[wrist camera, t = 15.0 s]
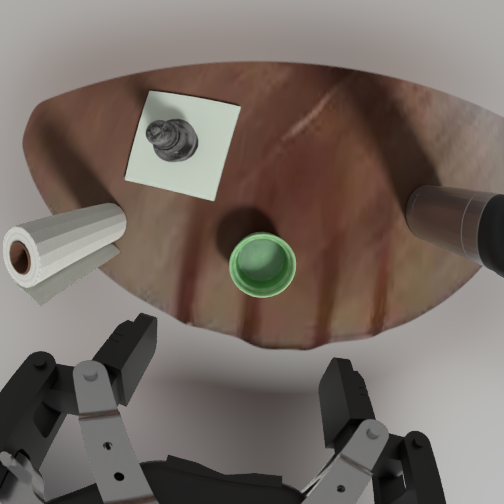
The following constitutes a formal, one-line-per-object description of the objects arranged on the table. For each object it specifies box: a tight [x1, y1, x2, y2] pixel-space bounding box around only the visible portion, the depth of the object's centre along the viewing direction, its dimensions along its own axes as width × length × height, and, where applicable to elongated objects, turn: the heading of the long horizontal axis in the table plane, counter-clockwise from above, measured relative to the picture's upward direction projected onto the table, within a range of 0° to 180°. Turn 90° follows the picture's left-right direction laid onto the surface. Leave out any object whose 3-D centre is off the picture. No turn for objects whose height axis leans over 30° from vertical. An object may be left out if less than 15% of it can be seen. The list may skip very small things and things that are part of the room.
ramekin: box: [229, 232, 296, 298], centre depth 40 cm, size 9×9×4 cm
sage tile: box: [125, 91, 241, 201], centre depth 37 cm, size 14×14×1 cm
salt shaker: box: [146, 119, 198, 162], centre depth 31 cm, size 6×6×12 cm
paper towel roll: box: [3, 203, 126, 308], centre depth 30 cm, size 7×6×21 cm
